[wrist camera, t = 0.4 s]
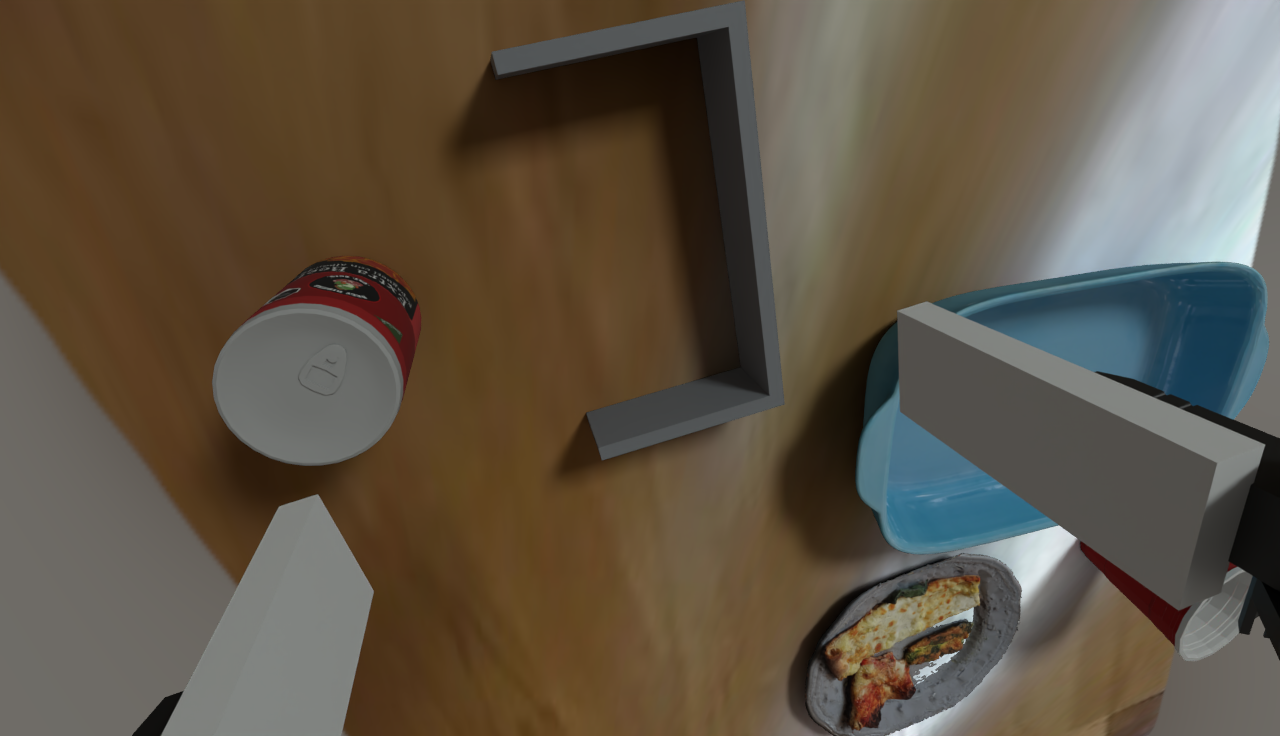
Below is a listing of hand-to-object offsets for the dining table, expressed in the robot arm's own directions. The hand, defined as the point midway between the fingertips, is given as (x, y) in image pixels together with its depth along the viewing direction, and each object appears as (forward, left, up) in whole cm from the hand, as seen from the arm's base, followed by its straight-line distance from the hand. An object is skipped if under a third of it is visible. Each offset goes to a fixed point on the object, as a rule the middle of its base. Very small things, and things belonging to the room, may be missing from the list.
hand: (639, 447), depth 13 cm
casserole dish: (+22, +36, -27) cm, 50 cm away
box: (+2, +6, -27) cm, 27 cm away
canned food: (+2, -12, -27) cm, 30 cm away
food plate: (+50, +26, -27) cm, 63 cm away
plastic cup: (+45, +50, -27) cm, 73 cm away
